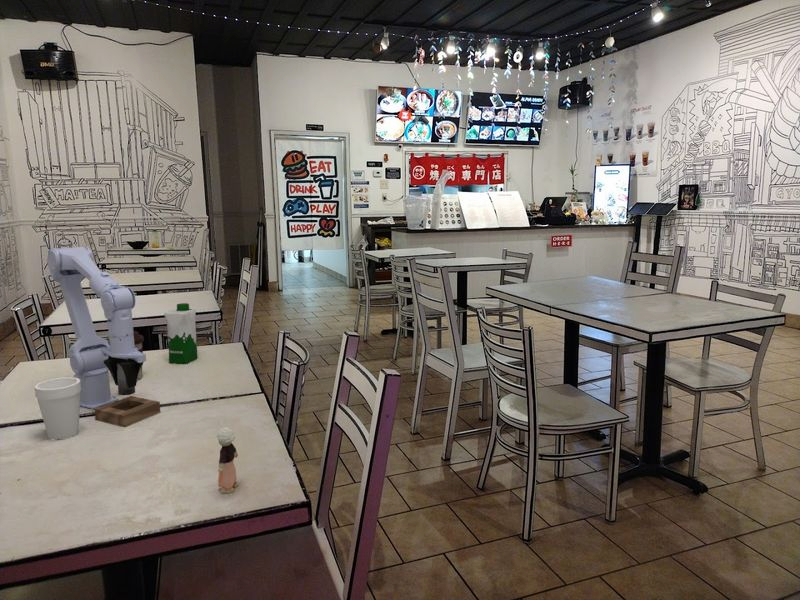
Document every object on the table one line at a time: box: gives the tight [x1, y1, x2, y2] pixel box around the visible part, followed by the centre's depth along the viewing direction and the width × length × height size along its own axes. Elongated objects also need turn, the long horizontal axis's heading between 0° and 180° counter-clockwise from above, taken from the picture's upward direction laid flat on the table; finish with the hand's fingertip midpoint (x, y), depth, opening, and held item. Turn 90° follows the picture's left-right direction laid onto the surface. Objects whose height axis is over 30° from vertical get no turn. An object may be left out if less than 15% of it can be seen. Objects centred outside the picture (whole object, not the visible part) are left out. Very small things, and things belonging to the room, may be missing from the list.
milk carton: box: [163, 302, 199, 365], centre depth 198 cm, size 9×9×20 cm
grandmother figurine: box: [216, 427, 239, 494], centre depth 111 cm, size 8×4×13 cm, turn 5°
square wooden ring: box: [94, 395, 161, 428], centre depth 150 cm, size 11×11×3 cm
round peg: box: [116, 362, 136, 396], centre depth 148 cm, size 4×4×8 cm
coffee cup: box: [108, 330, 145, 381], centre depth 179 cm, size 10×10×15 cm
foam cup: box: [34, 376, 81, 441], centre depth 137 cm, size 10×9×13 cm
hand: (125, 385), depth 148 cm, fingers closed on round peg, 4 cm apart
